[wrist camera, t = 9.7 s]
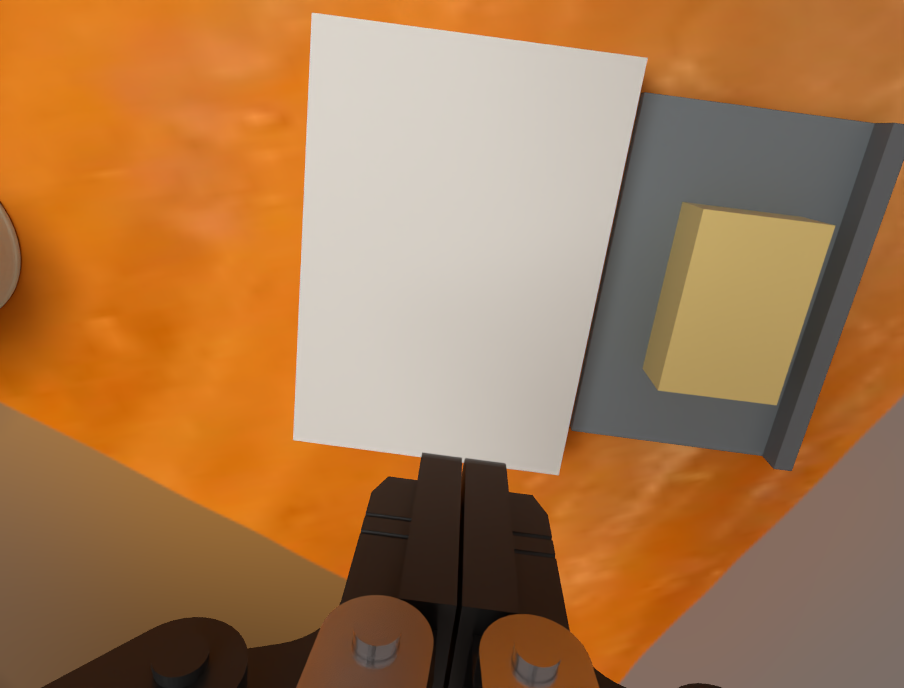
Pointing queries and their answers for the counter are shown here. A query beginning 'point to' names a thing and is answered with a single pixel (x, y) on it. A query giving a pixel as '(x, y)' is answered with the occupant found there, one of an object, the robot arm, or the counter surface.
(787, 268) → the yellow block
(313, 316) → the white flat block
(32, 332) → the counter surface
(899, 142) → the tray
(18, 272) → the can
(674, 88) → the counter surface
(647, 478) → the counter surface
